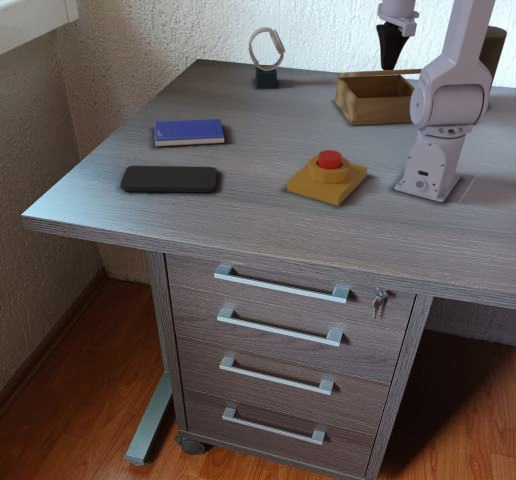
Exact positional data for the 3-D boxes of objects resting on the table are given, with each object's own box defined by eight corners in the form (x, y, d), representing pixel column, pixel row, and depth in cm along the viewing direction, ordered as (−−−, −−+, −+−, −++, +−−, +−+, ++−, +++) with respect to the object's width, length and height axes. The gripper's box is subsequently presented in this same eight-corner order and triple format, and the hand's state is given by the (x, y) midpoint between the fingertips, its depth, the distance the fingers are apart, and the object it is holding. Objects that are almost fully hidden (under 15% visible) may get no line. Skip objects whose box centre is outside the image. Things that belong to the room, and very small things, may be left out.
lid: (429, 73, 97) (429, 68, 97) (358, 76, 96) (358, 71, 95) (400, 74, 109) (401, 70, 109) (337, 77, 108) (337, 72, 107)
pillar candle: (467, 115, 106) (491, 32, 96) (428, 101, 111) (447, 20, 101) (495, 104, 110) (520, 23, 100) (456, 91, 116) (477, 13, 105)
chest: (417, 121, 104) (423, 96, 100) (351, 125, 102) (354, 99, 99) (396, 98, 113) (400, 74, 109) (334, 101, 111) (337, 77, 108)
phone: (214, 188, 82) (118, 186, 82) (214, 193, 83) (119, 191, 82) (217, 166, 87) (127, 165, 87) (217, 171, 88) (128, 169, 88)
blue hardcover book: (154, 138, 93) (223, 135, 95) (154, 120, 99) (219, 117, 100) (155, 147, 94) (224, 143, 96) (155, 128, 100) (220, 125, 102)
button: (334, 172, 81) (335, 162, 80) (313, 167, 83) (314, 156, 81) (344, 163, 84) (345, 153, 82) (323, 158, 85) (324, 148, 84)
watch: (285, 88, 117) (287, 32, 109) (249, 88, 116) (249, 32, 108) (282, 79, 121) (284, 24, 113) (247, 80, 120) (247, 25, 112)
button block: (338, 205, 80) (340, 184, 78) (286, 190, 84) (287, 169, 81) (366, 177, 87) (369, 156, 85) (317, 164, 90) (319, 144, 88)
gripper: (440, -8, 85) (421, 81, 95) (408, -26, 95) (394, 56, 105) (399, -7, 84) (384, 82, 94) (371, -25, 94) (360, 57, 104)
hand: (387, 69), depth 99 cm, fingers closed
